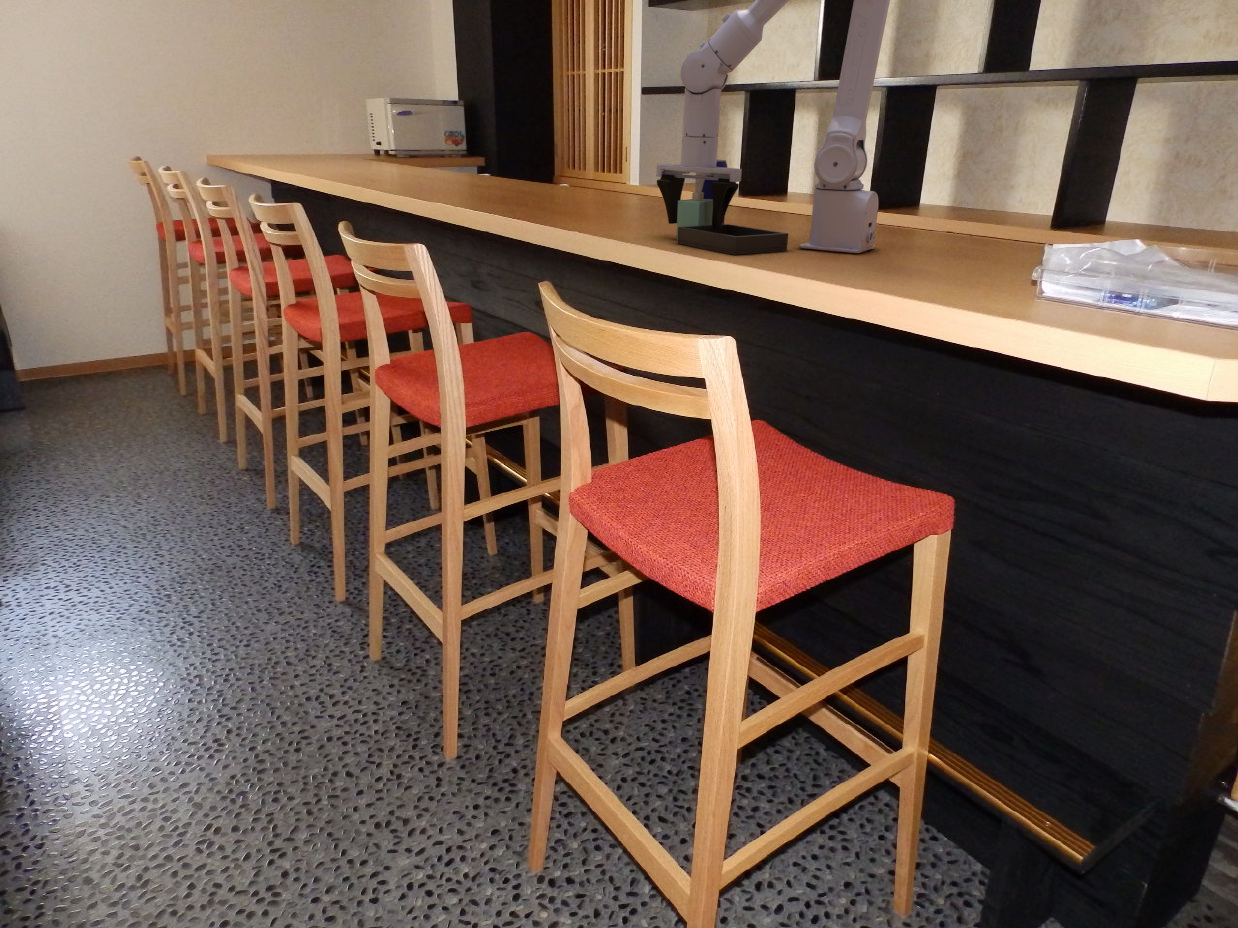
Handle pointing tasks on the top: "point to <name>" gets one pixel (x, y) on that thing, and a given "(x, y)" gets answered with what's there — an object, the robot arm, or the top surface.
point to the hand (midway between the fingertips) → (694, 225)
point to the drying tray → (733, 239)
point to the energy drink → (708, 182)
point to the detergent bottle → (694, 211)
